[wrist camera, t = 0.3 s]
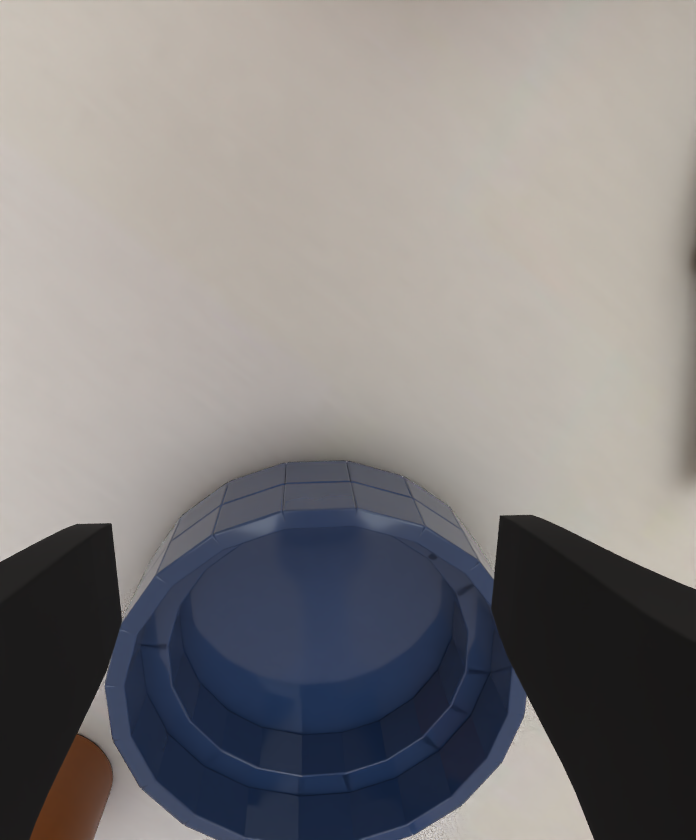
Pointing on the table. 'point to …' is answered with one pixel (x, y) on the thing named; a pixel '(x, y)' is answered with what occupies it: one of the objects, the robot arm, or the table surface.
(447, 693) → the bowl
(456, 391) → the table surface
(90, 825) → the bottle
